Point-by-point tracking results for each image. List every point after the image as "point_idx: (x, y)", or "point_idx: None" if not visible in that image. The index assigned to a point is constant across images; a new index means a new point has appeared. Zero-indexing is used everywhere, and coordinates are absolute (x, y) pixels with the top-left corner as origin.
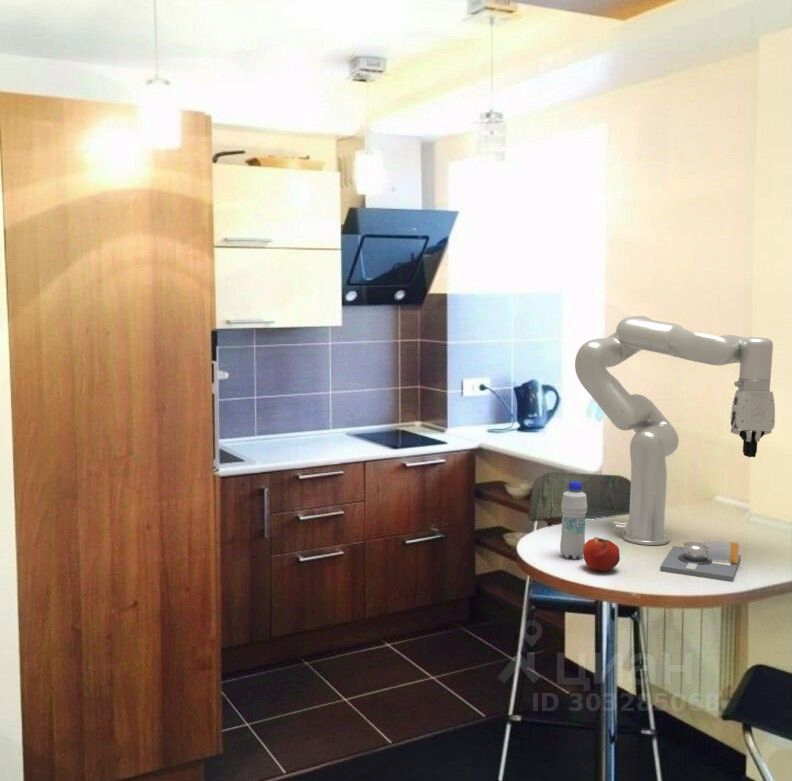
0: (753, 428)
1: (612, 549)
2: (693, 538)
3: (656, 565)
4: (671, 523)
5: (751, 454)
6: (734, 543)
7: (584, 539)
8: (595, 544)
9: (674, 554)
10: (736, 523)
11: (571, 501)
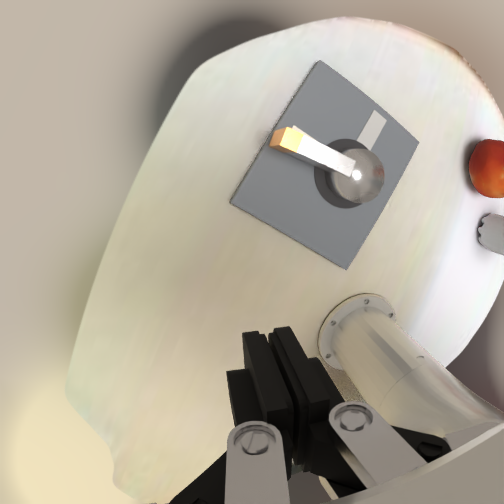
0: (433, 485)
1: (499, 146)
2: None
3: (408, 173)
4: None
5: (281, 335)
6: (293, 137)
7: (498, 228)
8: None
9: (370, 210)
10: (139, 428)
11: None
